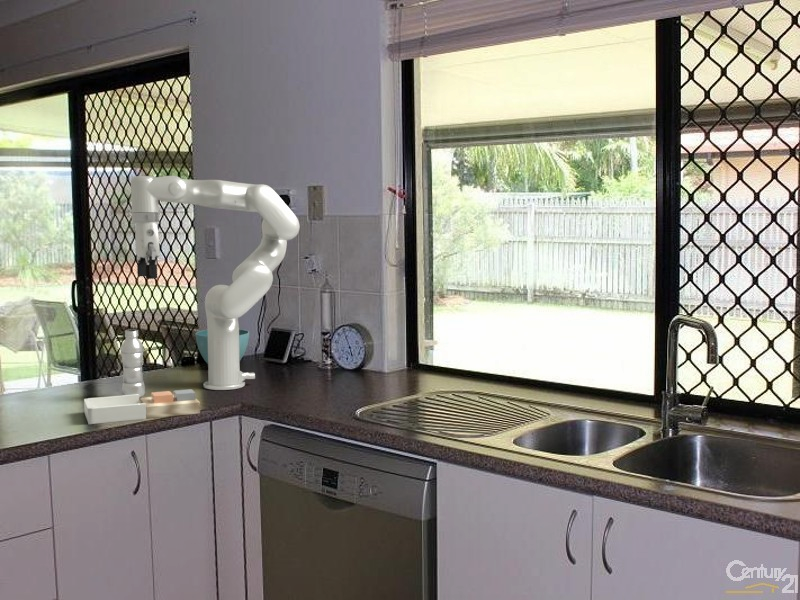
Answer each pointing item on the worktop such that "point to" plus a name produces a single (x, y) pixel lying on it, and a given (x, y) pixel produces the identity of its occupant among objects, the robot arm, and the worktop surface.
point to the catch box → (114, 409)
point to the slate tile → (184, 395)
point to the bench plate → (170, 407)
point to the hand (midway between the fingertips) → (147, 277)
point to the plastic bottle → (132, 364)
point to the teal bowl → (203, 343)
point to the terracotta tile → (162, 397)
